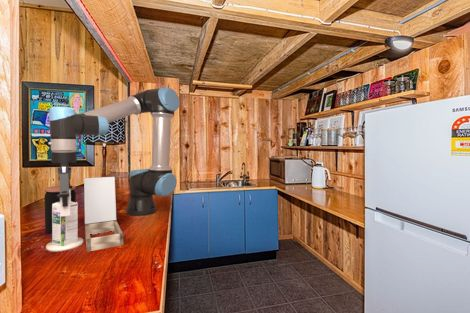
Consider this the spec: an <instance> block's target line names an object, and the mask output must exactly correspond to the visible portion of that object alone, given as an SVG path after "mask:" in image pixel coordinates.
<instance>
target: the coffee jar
mask: <svg viewBox="0 0 470 313" xmlns="http://www.w3.org/2000/svg"><path fill="white" fill-rule="evenodd" d="M70 186H72V188H71V189H70V192H71V202H77V201H76V199H77V198H76V197H77V196H76V195H77V194H76V191H75V190H76V185H71V184H70ZM43 189H44V190H43V191H44V192H45V193H44V231H45V232H46V233H47V234H49V235H52V204H54V203H57V202H60V197H57V195H59V194H60V185H53V186H47V187H44V188H43Z"/></svg>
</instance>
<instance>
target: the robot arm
mask: <svg viewBox="0 0 470 313" xmlns="http://www.w3.org/2000/svg"><path fill="white" fill-rule="evenodd" d="M179 97H180V96H179V95H178V93H177V92H176V90H174V89H173V88H171V87H159V88H152V89H146V90H143V91H141V92H138V93H135V94H133V95H130V96H128V97H127V98H126V99H125V100H124V99H123V100H120V101H117V102H114V103H110V104H107V105H104V106H101V107H98V108H94V109H91V110H88V111H85V112H81V113H77V112H76V109H75V108H73V107H69V106H52V107H50V109H49V114H48V115H49V116H48V121H49V134H50V135H49V136H50V138H49V139H50V141H49V142H48V143H47V144H48V145H49V146H50V151H51V153H50V162H51V163H52V164H59V167H58V168H57V174H58V181H59V186H60V194H59V195H57V197H60V213H61V216H69V215H70V202H71V192H70V189H71V188H72V186H73V185H71V182H70V181H71V177H72V167H70V164H74V163H76V162H78V158H77V157H78V156H77V155H78V154H77V150H78V149H77V148H78V147H77V136H105V135H107V134H108V132H109V130H110V123H112V122H115V121H118V120H121V119H123V118H125V117H126V118H127V117H129V116H131V115H136V116H137V115H141V114H143V113H144V114H145V113H147V114H150V116H151V117H152V121H153V122H152V144H151V148H152V150H151V165H150V167H149V168H143V169H133V170H132V169H131V171H130V172H129V200H128V203H127V204H126V207H125V208H126V209H125V213H126V215H128V216H146V215H151V214H154V213H156V212H157V205H156V202H155V200H154V196H156V197H157V196H158V197H168V196H170V195H171V194H172V193H173V192H174V191H175V189H176V187H177V183H178V182H177V177H176V175H175V174H174V173H173V168H171V166H170V160H171V159H170V157H171V156H170V155H171V151H170V150H171V132H172V131H171V128H172V126H171V125H172V119H173V118H174V117H175V112H176V111H177V110H178V109H179V108H180V98H179ZM70 185H71V186H70Z"/></svg>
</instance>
